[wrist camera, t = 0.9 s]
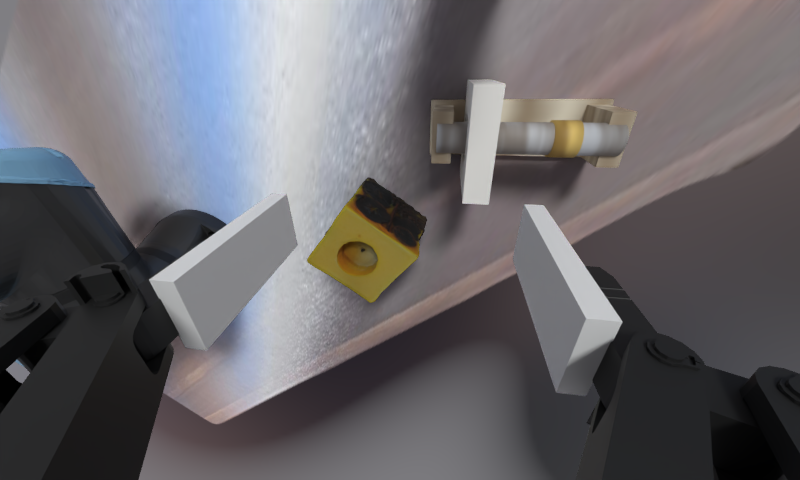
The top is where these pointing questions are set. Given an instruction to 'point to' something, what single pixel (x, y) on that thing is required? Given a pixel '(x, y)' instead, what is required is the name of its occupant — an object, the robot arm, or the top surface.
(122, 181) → the top surface
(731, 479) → the robot arm
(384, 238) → the yellow cube with hole
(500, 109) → the upright white plank
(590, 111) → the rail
